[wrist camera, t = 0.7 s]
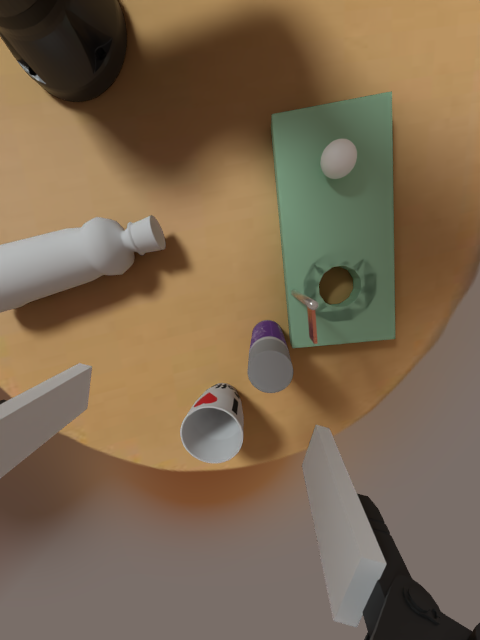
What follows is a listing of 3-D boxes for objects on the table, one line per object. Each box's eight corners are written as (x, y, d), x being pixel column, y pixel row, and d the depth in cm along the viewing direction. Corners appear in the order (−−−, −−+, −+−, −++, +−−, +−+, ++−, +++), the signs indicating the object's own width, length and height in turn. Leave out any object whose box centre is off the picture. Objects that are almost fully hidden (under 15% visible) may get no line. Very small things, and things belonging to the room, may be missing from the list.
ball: (316, 151, 31) (323, 134, 28) (349, 145, 31) (362, 127, 27) (318, 186, 32) (325, 174, 28) (350, 181, 32) (363, 168, 28)
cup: (252, 381, 41) (249, 415, 31) (241, 424, 43) (234, 470, 33) (204, 369, 41) (186, 399, 32) (195, 412, 43) (175, 454, 33)
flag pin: (290, 289, 35) (308, 301, 21) (296, 288, 35) (318, 300, 21) (292, 316, 36) (311, 344, 22) (298, 315, 35) (321, 343, 22)
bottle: (-6, 327, 40) (174, 278, 37) (-84, 301, 31) (140, 235, 29) (5, 279, 43) (170, 231, 41) (-62, 244, 35) (139, 181, 32)
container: (258, 315, 39) (256, 341, 24) (287, 326, 39) (302, 359, 24) (247, 342, 40) (239, 383, 25) (275, 353, 40) (283, 401, 25)
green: (270, 127, 34) (271, 114, 31) (380, 107, 33) (391, 91, 30) (290, 342, 39) (292, 348, 36) (385, 333, 38) (395, 338, 35)
